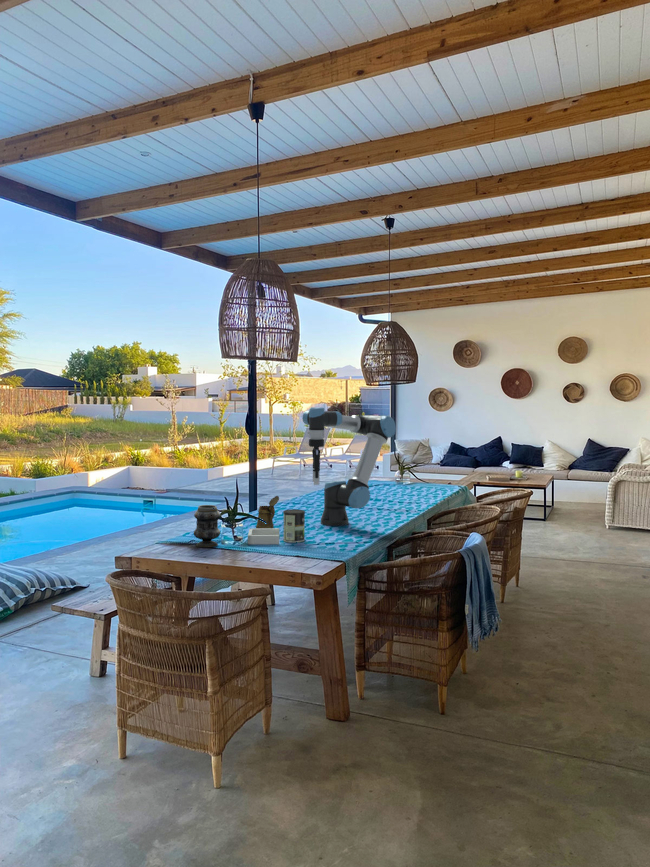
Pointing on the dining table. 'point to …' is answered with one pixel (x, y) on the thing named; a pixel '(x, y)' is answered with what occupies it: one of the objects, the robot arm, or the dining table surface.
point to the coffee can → (294, 525)
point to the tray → (263, 536)
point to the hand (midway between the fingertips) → (315, 483)
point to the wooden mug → (267, 514)
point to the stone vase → (207, 525)
